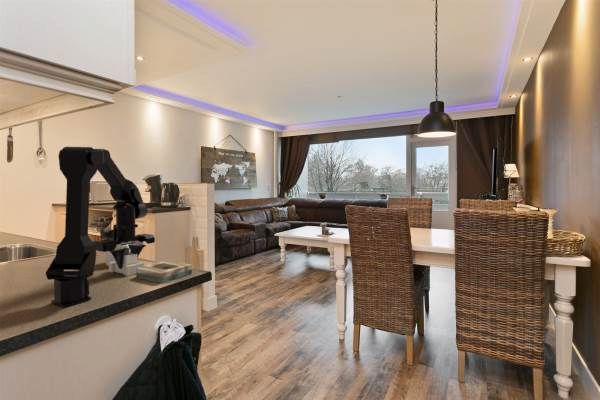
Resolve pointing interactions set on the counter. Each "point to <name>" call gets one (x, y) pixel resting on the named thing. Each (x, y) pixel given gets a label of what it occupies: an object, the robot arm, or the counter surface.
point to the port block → (163, 271)
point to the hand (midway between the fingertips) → (126, 267)
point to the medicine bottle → (110, 257)
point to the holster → (126, 268)
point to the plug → (126, 260)
